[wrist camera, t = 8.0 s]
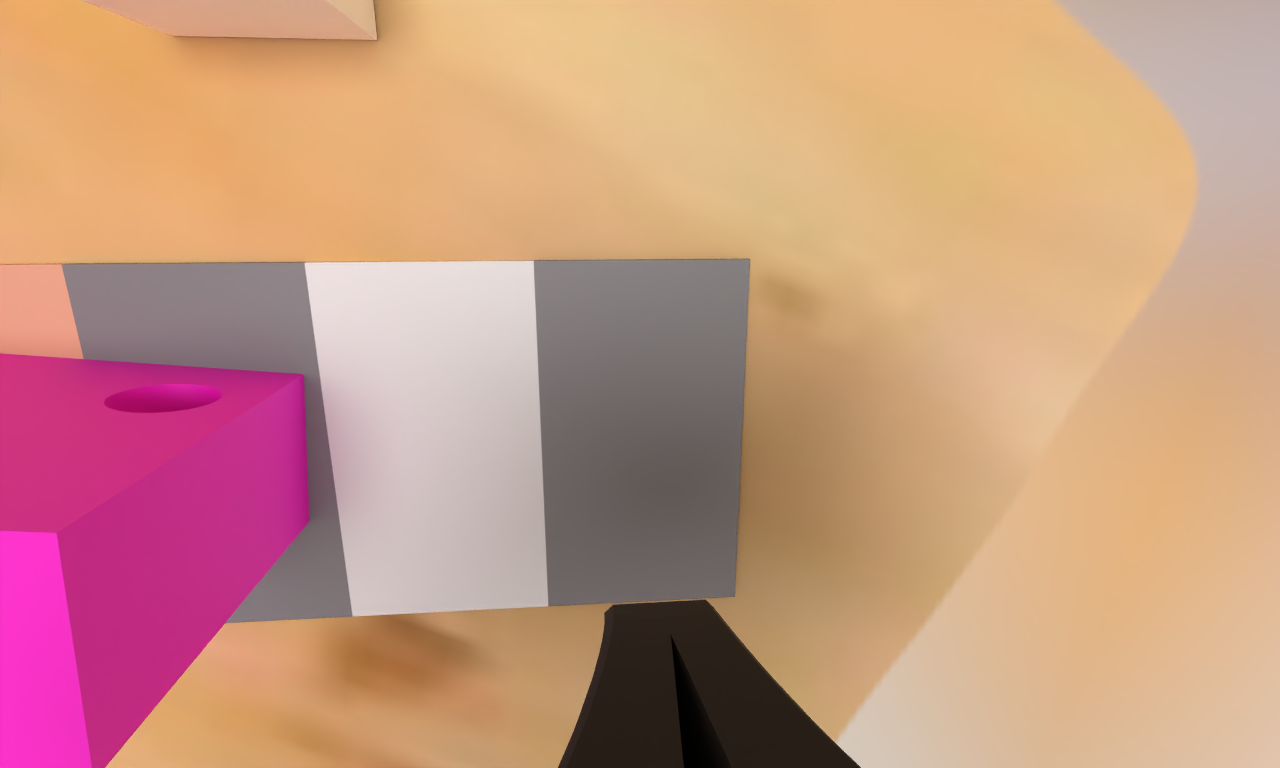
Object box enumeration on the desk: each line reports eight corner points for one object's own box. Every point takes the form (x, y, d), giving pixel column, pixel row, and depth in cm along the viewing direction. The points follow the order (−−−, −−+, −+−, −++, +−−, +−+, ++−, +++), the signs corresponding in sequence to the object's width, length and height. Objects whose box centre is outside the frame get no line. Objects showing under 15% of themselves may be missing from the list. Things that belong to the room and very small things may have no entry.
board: (729, 584, 18) (734, 596, 18) (-268, 633, 16) (-299, 650, 16) (744, 257, 16) (750, 259, 15) (-428, 265, 14) (-472, 268, 13)
